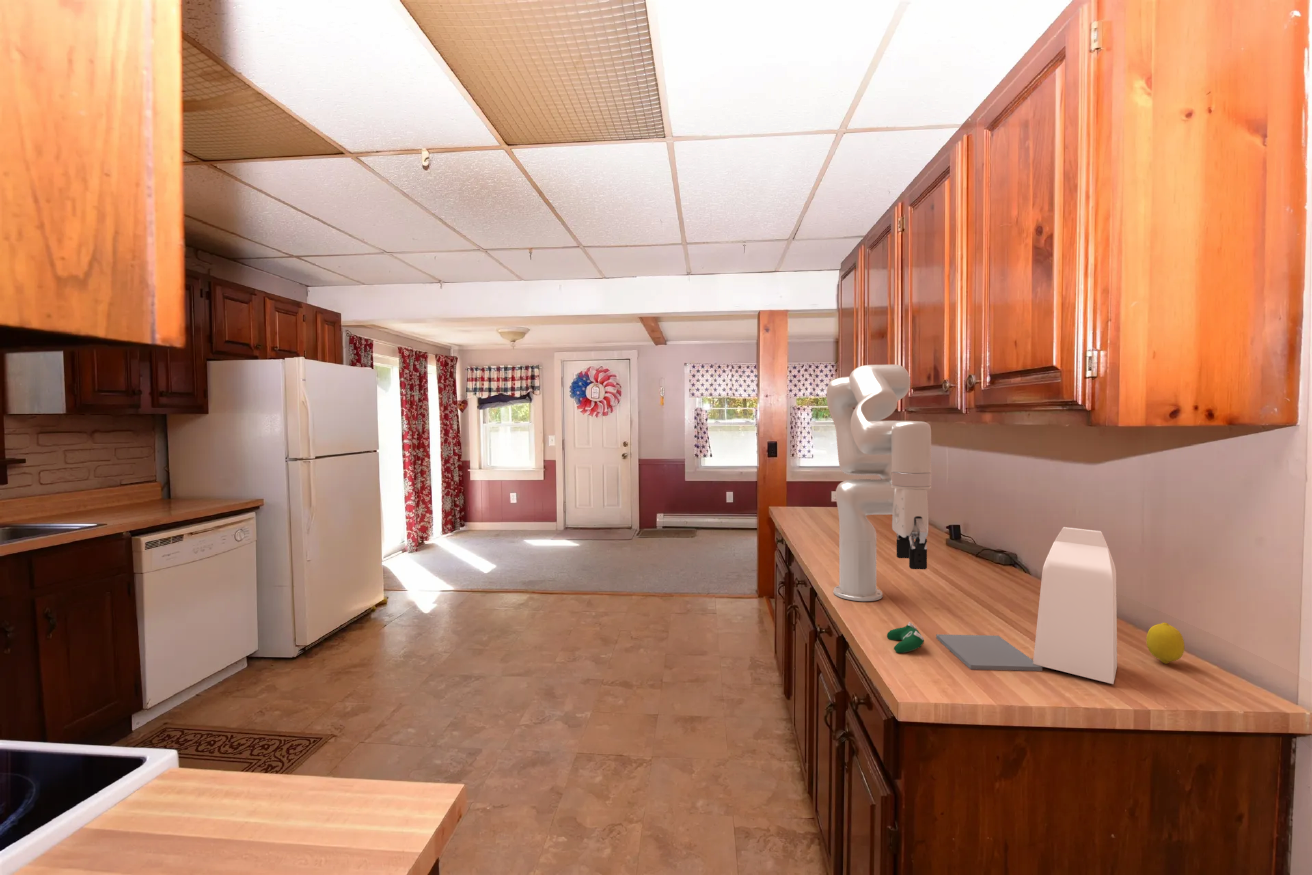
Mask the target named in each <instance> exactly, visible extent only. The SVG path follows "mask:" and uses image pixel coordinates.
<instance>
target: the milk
mask: <svg viewBox="0 0 1312 875" xmlns="http://www.w3.org/2000/svg"><path fill="white" fill-rule="evenodd" d="M1116 569H1117V568H1116V564H1115V562H1114V559H1113V556H1112V554H1111V550H1110V548H1109V545H1108V543H1107V541H1106V538H1105V536H1104V534H1103V532H1102V531H1101V530H1094V529H1093V530H1092V529H1083V528H1076V527H1066V526H1063V527H1062V528H1061V530H1060V531H1059V533H1058V535H1057V536H1056V537H1055V539H1054V541H1053V543H1052V546H1051V547H1050V549H1049V552H1048V553H1047V556H1046V558H1045V561H1044V563H1043V566H1042V572H1041V580H1040V582H1041V583H1040V590H1039V593H1040V594H1039V602H1038V611H1037V620H1036V628H1035V629H1036V631H1035V639H1034V640H1035V641H1034V651H1033V659H1032V660H1033V664H1035V665H1039V666H1042V668H1047V669H1051V670H1056V671H1060V672H1063V673H1068V674H1072V675H1075V676H1078V677H1079V676H1080V677H1083V678H1087V679H1091V680H1095V681H1099V682H1103V683H1107V684H1111V685H1114V683H1115V679H1116V672H1117V670H1118V669H1117V668H1118V641H1117V640H1118V634H1117V632H1118V631H1117V630H1118V629H1117V628H1118V626H1117V625H1118V624H1117V622H1118V621H1117V620H1118V618H1117V616H1118V614H1117V611H1118V610H1117V570H1116Z"/></svg>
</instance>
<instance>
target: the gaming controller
mask: <svg viewBox="0 0 1312 875" xmlns="http://www.w3.org/2000/svg"><path fill="white" fill-rule="evenodd" d="M886 637H887V639H889V640H891V641H899V642H897V643H896V644H895V645H894V647H893V650H894V651H895V652H896V654H903V653H908V652H912V651H915V650H917V649H918V648H921V647H922V645H923V644H924V642H925V638H924V637H923V635H922V634H921V632H920V631H919V629H918V628H917V627H916V626H915V625H914V624H913V623H912V622H911V621H909V622H908V623H907V624H905V626H903V627H898V628H892V629H890V630H889V631H888V632H887V634H886Z"/></svg>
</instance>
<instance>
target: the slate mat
mask: <svg viewBox="0 0 1312 875" xmlns="http://www.w3.org/2000/svg"><path fill="white" fill-rule="evenodd" d="M935 638H936V639H937V640H938V641H939V642H940V643H941V644H942V645H943V646H944V647H945V648H946V649H947V650H949V651H950V653H952V654H953V655H954V656H955V657H957V659H958V660H960V661H961V662H962V663H963V664H964V665H965V666H966V667H967V668H968V669H969V670H985V671H986V670H987V671H990V670H991V671H1019V672H1020V671H1021V672H1022V671H1023V672H1024V671H1025V672H1027V671H1028V672H1043V666H1039V665H1035V664H1033V659H1032V658H1031V657H1029V656H1028V655H1026V654H1025V653H1024V652H1022V651H1021V650H1020V649H1018V648H1016V647H1015V646H1014V645H1012V644H1011V643H1009V642H1008V641H1007V640H1006V639H1004V638H1003V637H1001V636H1000V635H991V634H990V635H985V634H983V635H981V634H980V635H979V634H942V633H941V634H938V633H937V634H936V635H935Z"/></svg>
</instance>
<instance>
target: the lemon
mask: <svg viewBox="0 0 1312 875" xmlns="http://www.w3.org/2000/svg"><path fill="white" fill-rule="evenodd" d="M1145 639H1146V642H1145V643H1146V646H1147V647H1146V648H1147V649H1148V651H1149V653H1150V654H1151V655H1152V656H1153V657H1154V658H1156V659H1157V660H1159V661H1160V662H1161V663H1162V664H1164V665H1166V664H1169V663H1172V662H1175V661H1176V662H1177V661H1178V660H1180V659H1181V657H1182V656H1183V655H1184V653H1185V641H1184V640H1185V639H1184V637H1183V635H1182V634H1181V632H1180V631H1179V630H1178V629H1177V628H1176V627H1174V626H1172V625H1170V624H1169V623H1167V622H1161V623H1157V624H1154V625H1152V626H1151V627H1150V628H1149V629H1148V631H1147V634H1146V638H1145Z"/></svg>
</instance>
